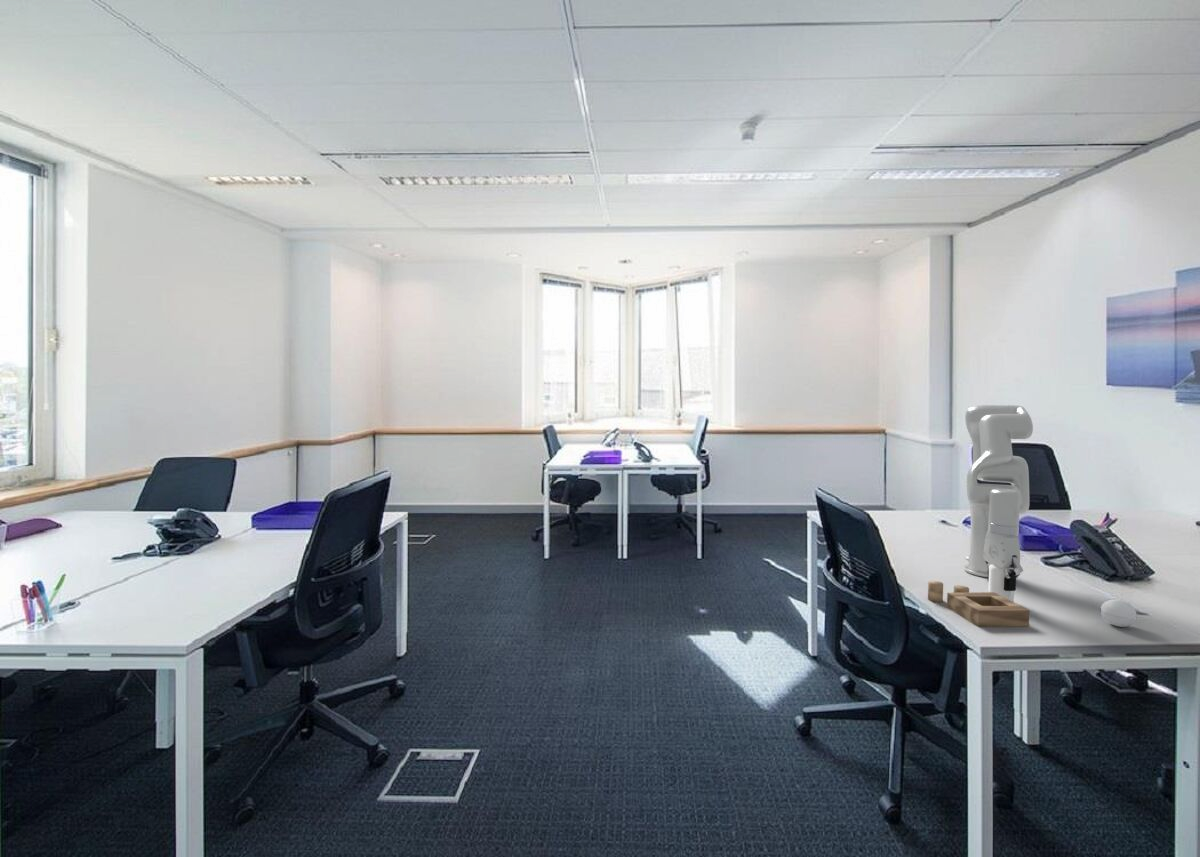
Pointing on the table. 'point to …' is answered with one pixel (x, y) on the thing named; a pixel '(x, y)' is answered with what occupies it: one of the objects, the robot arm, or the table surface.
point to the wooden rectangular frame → (988, 609)
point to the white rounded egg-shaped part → (1118, 612)
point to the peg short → (961, 589)
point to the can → (999, 582)
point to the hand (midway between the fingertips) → (1001, 585)
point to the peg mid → (935, 591)
